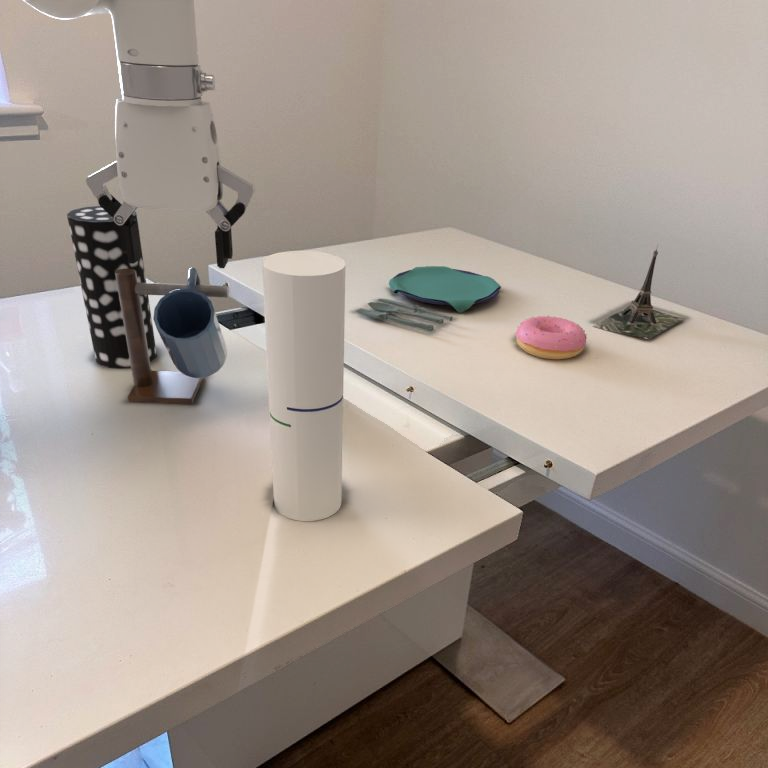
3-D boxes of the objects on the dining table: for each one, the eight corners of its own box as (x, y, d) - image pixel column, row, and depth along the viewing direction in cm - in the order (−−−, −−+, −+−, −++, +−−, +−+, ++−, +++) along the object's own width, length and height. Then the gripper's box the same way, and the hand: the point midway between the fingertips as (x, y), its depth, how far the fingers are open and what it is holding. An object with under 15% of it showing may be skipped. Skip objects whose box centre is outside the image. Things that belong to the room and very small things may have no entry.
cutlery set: (515, 292, 135) (517, 280, 134) (439, 340, 114) (441, 326, 113) (424, 271, 144) (425, 259, 142) (337, 311, 123) (337, 298, 121)
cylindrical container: (332, 525, 73) (334, 279, 58) (265, 515, 74) (250, 270, 59) (347, 487, 79) (353, 255, 64) (284, 479, 79) (276, 247, 65)
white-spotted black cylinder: (125, 345, 107) (100, 202, 95) (169, 357, 104) (150, 212, 93) (83, 364, 101) (52, 215, 89) (129, 378, 98) (103, 225, 86)
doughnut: (528, 365, 108) (533, 338, 106) (504, 337, 117) (507, 312, 114) (595, 361, 110) (601, 336, 108) (566, 334, 119) (571, 310, 116)
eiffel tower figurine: (648, 343, 117) (671, 260, 110) (592, 326, 123) (610, 246, 115) (684, 321, 127) (707, 243, 119) (631, 306, 132) (650, 230, 124)
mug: (224, 379, 89) (211, 342, 81) (169, 377, 89) (150, 340, 80) (231, 303, 92) (219, 260, 84) (177, 301, 92) (160, 257, 84)
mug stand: (127, 407, 91) (105, 281, 82) (143, 380, 98) (124, 261, 89) (232, 410, 92) (221, 286, 83) (240, 383, 98) (232, 265, 89)
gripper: (254, 87, 74) (261, 257, 84) (83, 76, 73) (110, 249, 83) (244, 94, 68) (253, 277, 77) (57, 82, 67) (90, 268, 77)
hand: (179, 262), depth 80 cm, fingers open, 9 cm apart
